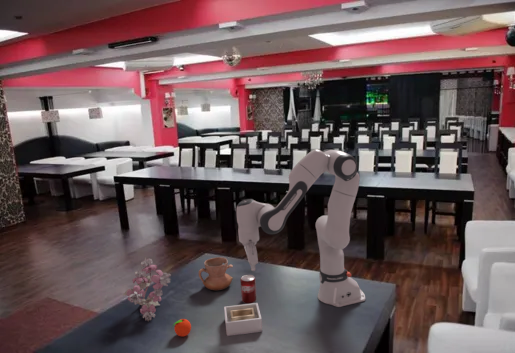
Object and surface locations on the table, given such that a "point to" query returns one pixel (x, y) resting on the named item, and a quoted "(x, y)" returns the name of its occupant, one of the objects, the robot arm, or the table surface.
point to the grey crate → (243, 325)
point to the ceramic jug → (216, 273)
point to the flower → (138, 290)
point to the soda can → (248, 289)
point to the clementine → (182, 327)
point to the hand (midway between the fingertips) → (251, 265)
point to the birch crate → (242, 314)
